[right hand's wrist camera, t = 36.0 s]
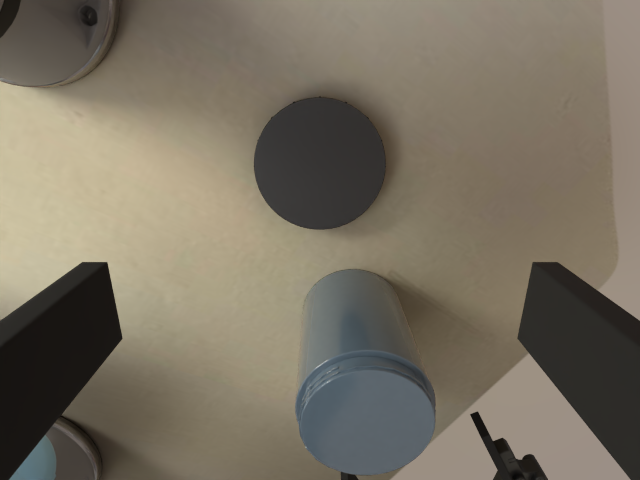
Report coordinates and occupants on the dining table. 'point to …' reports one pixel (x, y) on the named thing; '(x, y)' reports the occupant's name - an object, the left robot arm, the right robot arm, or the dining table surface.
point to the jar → (361, 377)
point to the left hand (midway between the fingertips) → (409, 451)
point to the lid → (319, 163)
